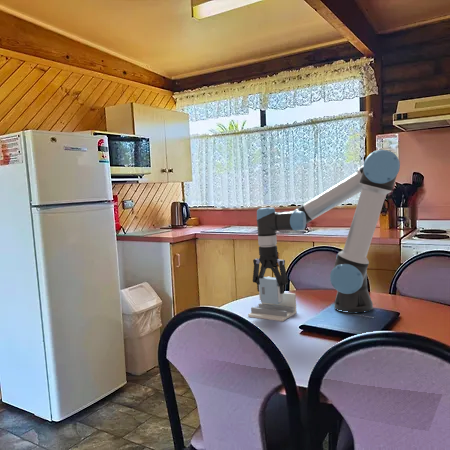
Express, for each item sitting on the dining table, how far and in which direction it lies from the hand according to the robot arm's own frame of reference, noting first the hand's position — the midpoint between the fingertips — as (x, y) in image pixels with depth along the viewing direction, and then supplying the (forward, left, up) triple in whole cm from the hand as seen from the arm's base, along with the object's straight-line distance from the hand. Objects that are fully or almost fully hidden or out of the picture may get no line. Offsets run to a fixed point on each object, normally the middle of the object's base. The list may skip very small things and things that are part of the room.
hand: (271, 300), depth 171 cm
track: (0, 0, -6) cm, 6 cm away
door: (0, 0, -1) cm, 1 cm away
